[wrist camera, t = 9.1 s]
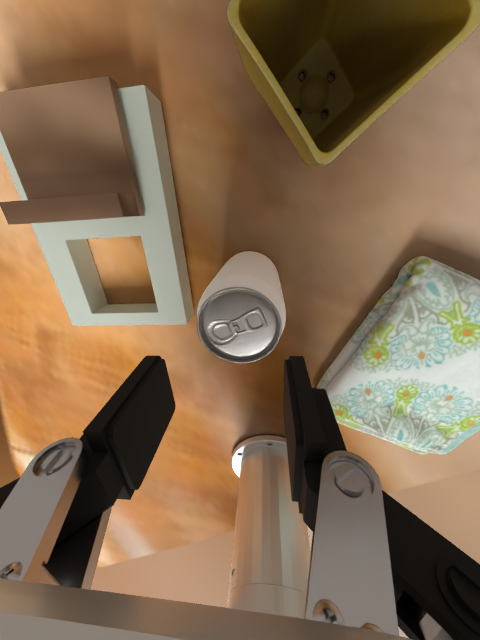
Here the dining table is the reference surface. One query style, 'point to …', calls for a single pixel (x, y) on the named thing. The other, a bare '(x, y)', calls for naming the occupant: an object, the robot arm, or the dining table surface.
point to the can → (242, 309)
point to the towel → (414, 362)
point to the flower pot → (342, 60)
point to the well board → (124, 232)
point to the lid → (69, 152)
